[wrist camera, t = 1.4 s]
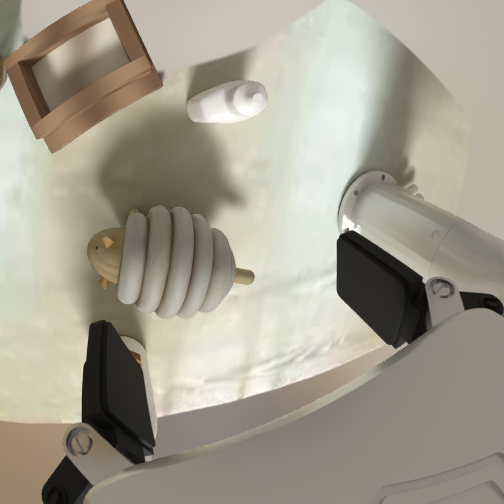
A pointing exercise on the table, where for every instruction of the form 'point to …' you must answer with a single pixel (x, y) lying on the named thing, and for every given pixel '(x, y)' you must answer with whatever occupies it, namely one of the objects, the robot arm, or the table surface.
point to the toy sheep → (167, 262)
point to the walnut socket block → (81, 71)
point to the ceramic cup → (2, 72)
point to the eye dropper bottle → (228, 102)
